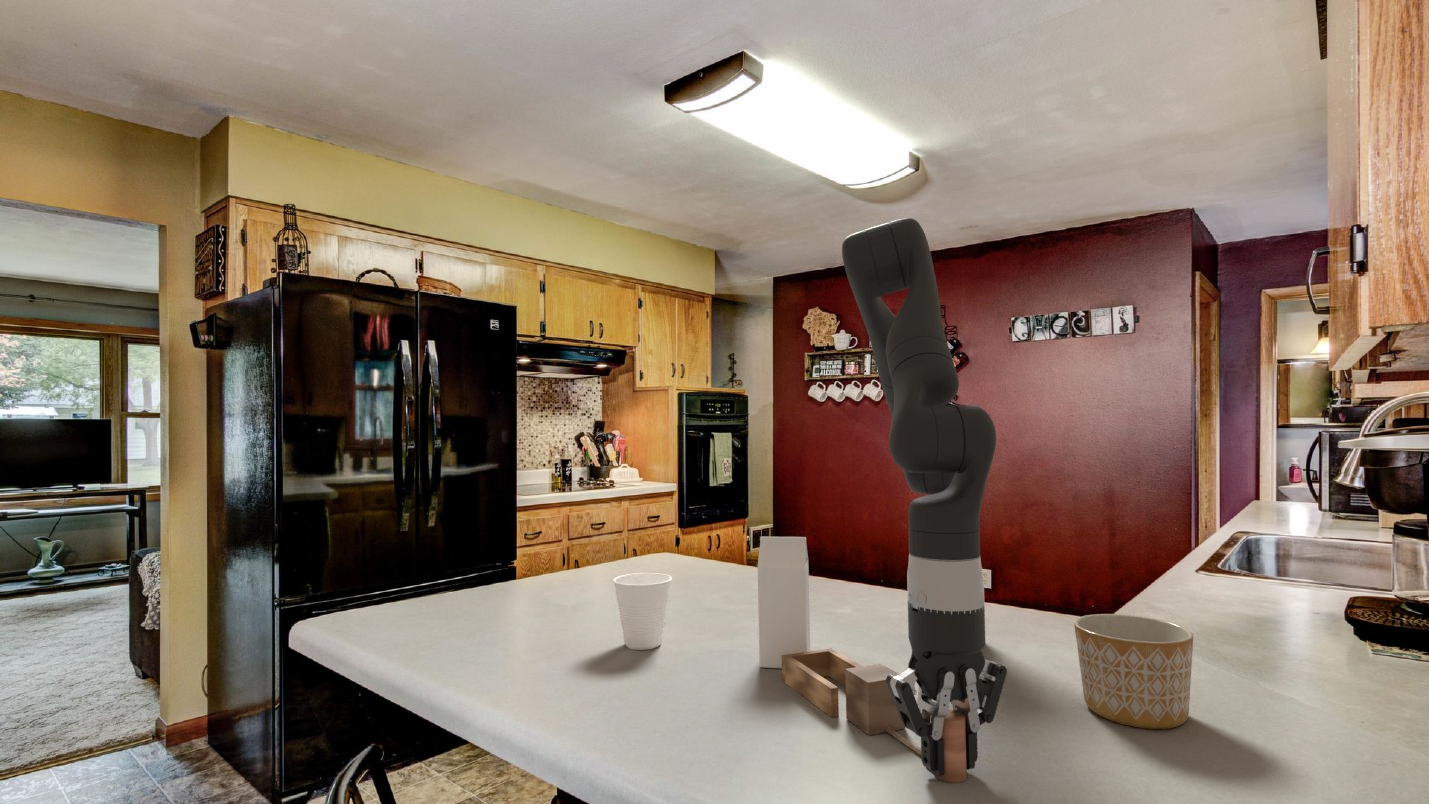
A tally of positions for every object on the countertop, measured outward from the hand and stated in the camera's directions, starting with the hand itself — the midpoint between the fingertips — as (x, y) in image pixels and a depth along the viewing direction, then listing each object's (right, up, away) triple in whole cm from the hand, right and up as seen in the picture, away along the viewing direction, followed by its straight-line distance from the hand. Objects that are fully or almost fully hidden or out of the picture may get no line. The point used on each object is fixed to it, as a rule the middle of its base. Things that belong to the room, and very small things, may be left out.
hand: (949, 768), depth 71 cm
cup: (-36, -3, +45) cm, 58 cm away
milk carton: (-13, -3, +36) cm, 38 cm away
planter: (+28, -1, +15) cm, 31 cm away
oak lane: (-8, -2, +23) cm, 24 cm away
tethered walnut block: (-2, -1, +7) cm, 7 cm away
